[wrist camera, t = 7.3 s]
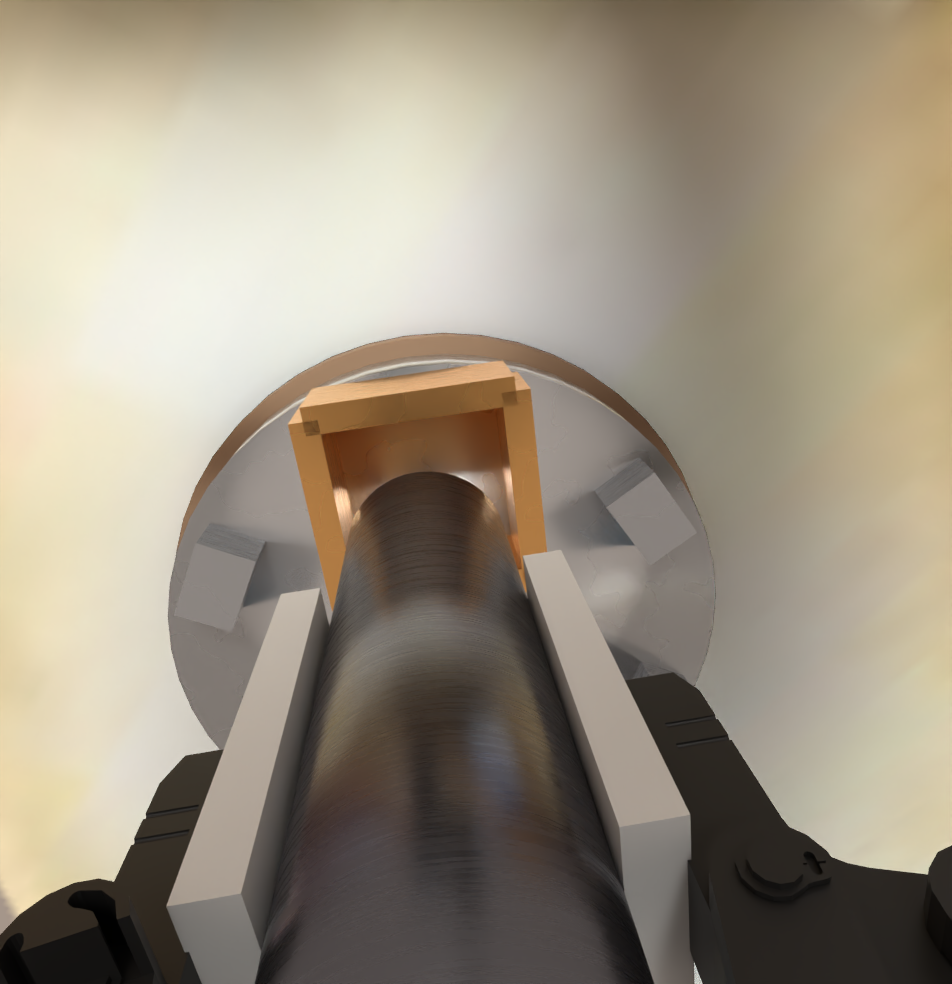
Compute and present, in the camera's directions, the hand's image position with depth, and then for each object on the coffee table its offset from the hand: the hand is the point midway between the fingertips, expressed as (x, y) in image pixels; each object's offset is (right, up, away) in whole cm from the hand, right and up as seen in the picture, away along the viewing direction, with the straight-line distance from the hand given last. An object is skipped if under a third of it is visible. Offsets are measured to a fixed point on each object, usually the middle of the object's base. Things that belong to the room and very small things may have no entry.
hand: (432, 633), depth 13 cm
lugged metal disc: (0, -2, +12) cm, 12 cm away
